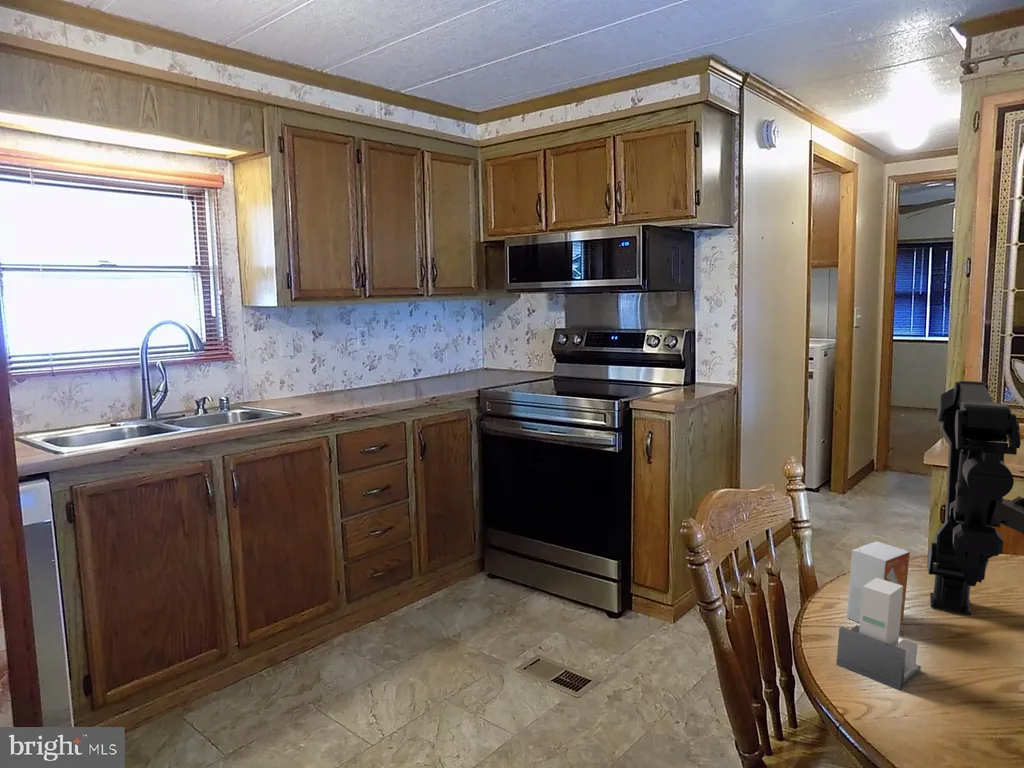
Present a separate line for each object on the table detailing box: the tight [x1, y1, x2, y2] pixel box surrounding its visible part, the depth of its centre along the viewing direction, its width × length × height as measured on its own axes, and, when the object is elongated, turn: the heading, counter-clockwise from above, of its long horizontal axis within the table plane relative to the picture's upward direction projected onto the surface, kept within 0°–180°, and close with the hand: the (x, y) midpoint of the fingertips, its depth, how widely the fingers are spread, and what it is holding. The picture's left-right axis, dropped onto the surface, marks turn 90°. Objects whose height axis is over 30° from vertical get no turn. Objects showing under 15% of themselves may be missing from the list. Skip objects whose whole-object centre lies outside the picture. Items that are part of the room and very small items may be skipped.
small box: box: [846, 540, 911, 624], centre depth 126 cm, size 8×6×13 cm
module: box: [859, 578, 903, 646], centre depth 110 cm, size 5×4×12 cm
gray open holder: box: [836, 624, 922, 691], centre depth 111 cm, size 8×10×6 cm
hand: (969, 575), depth 115 cm, fingers open, 9 cm apart
